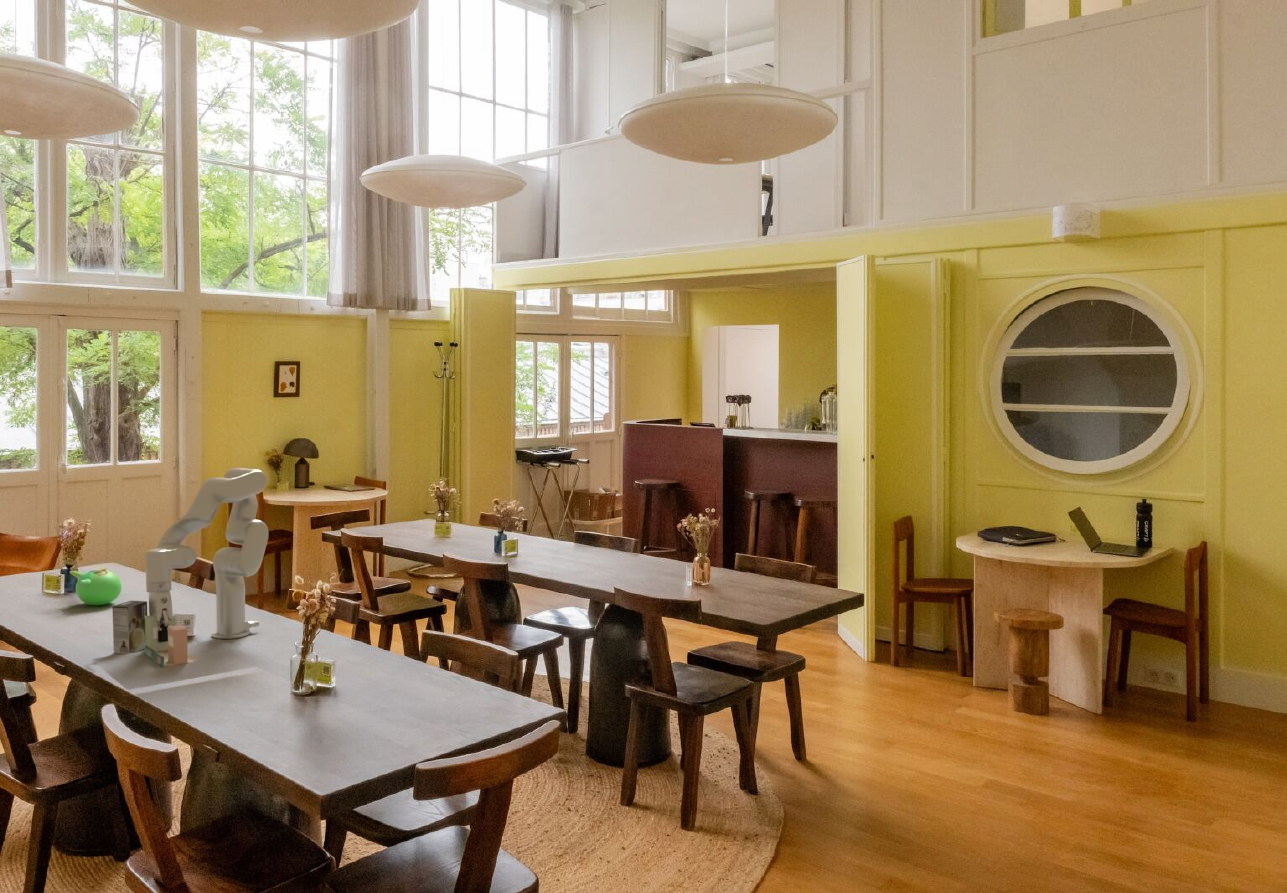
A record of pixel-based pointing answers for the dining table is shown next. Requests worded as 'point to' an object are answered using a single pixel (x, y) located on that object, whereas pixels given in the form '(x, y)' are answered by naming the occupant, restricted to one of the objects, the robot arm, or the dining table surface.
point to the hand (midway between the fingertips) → (160, 639)
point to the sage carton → (155, 633)
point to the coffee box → (129, 627)
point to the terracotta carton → (177, 645)
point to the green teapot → (97, 586)
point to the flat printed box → (163, 657)
